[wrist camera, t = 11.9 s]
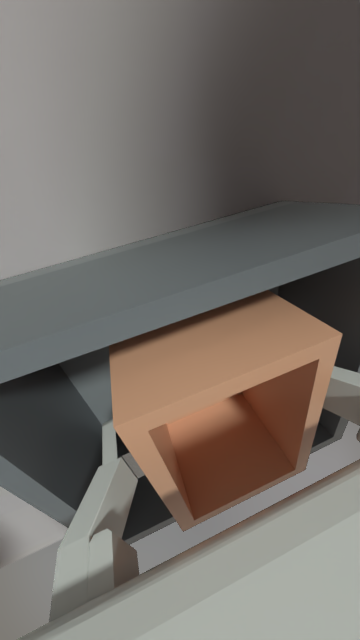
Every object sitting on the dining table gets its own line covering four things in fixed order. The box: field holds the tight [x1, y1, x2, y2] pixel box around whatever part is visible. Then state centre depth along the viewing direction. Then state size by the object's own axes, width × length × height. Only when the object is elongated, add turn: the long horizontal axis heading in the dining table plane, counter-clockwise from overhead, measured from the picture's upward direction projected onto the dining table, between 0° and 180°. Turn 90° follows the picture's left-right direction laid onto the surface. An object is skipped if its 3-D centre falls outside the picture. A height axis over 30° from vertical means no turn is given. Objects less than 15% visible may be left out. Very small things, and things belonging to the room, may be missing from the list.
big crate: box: [0, 201, 360, 545], centre depth 11 cm, size 12×13×6 cm
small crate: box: [109, 290, 342, 532], centre depth 9 cm, size 8×6×5 cm
